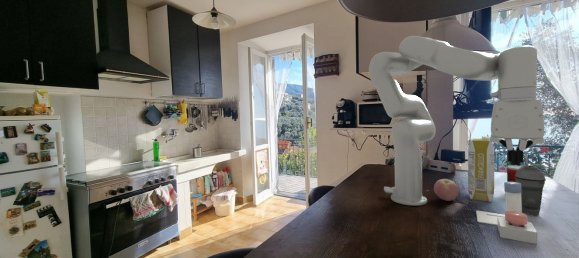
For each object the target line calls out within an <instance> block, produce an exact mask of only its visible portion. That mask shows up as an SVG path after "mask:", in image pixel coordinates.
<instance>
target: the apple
mask: <svg viewBox="0 0 579 258" xmlns="http://www.w3.org/2000/svg"><path fill="white" fill-rule="evenodd" d="M433 186H434V187H433V191H434V193H435V195H436V196H437V197H438V198H439V199H441V200H443V201H447V202H450V201H454V200H455V199H456V198H457V197H458V196H459V195H458V194H459V187H458V185H457V184H456V182H455V181H453V180H451V179H450V178H449V179H448V178H442V179H439V180H436V182H435V183H434V185H433Z"/></svg>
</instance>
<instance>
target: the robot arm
mask: <svg viewBox="0 0 579 258" xmlns="http://www.w3.org/2000/svg"><path fill="white" fill-rule="evenodd" d="M369 62H370V63H369V66H368V75H369V78H370V81H371V83H372V84H373V86H374V88H375V90H376V92H377V94H378V96H379V97H378V98H379V99H380V101H381V104H382V105H383V108H384V110H385V112H386V114H387V116H388V117H390V118H391V119H399V120H396V121H395V122H394V124H393V125H392V127H391V130H390V131H391V138H392V143H393V144H392V145H393V150H394V152H393V153H394V186H392V187H390V186H384V187H383V191H384V192H385V193H386V194H391V195H390V199H391V200H392V202H394V203H397V204H401V205H404V206H405V205H406V206H423V205H426V204H427V203H428V199H427V197H426V196H423V156H422V155H423V154H422V151H421V148H420V145H419V143H424V142H428V141H431V140H433V139H434V137H435V136H436V132H437V131H436V130H437V129H436V128H437V127H436V125H435V124H436V123H435V122H434V121H433V118H432V116H431V114H430V112H429V111H428V108H427V106H426V104H425V103H424V101H423V100H422V99H421V98H420V97H418V96H417V95H414V94H406V93H404V92H403V91H402V88H401V87H400V84H399V83H398V81H397V80H396V79H395V77H393V76H392V75H404V74H408V73H410V72H411V71H414V70H415V69H417V68H419V67H421V66H422V65H424V66H428V67H430V68H433V69H434V70H437V71H440V72H441V73H443V74H446V75H448V74H449V75H451V76H453V77H457V78H460V79H464V80H471V81H482V82H483V81H488V82H489V81H494V80H497V91H494V92H491V93H490V98H495V99H497V101H494V102H493V105H492V106H493V107H492V111H491V112H492V113H491V121H490V122H491V123H490V133H491V134H490V136H489V137H490V141H491V142H492V143H495V144H500V145H502V146H503V147H504V148H505V149H506V150H507V152H506V153H507V159H506V160H507V162H509V164H510V166H521V163H524V152H525V151H526V150H527V149H528V148H529V147H531V146H532V145H539V144H544V143H545V139H544V136H545V117H544V109H543V105H542V104H543V103H542V100H541V99H537V75H538V74H537V73H538V50H537V48H536V47H535V46H533V45H518V46H514V47H509V48H505V49H503V50H502V51H500V52H499V53H495V54H494V53H488V52H481V51H476V50H475V51H474V50H470V49H465V48H461V47H455V46H453V45H450V43H448V42H447V41H443V40H438V39H434V38H431V37H427V36H426V37H425V36H420V35H409V36H406V37H404V39H402V41H400V44H399V46H398V52H394V51H381V52H378V53H376V54H375V55H373V57H371V60H370V61H369ZM513 140H518V143H517V147H515V148H514V145H513Z"/></svg>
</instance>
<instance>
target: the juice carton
mask: <svg viewBox="0 0 579 258" xmlns="http://www.w3.org/2000/svg"><path fill="white" fill-rule="evenodd" d="M493 143H494V142H491V141H490V136H483V135H482V136H481V138H470V140H469V144H468V148H467V189H468V195H469V198H470V200H475V201H481V202H482V201H483V202H488V203H489V202H490V203H491V202H492V201H493V198H494V195H495V148H494V144H493Z"/></svg>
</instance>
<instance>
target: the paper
mask: <svg viewBox="0 0 579 258" xmlns="http://www.w3.org/2000/svg"><path fill="white" fill-rule="evenodd" d="M475 211H476V212H475V213H476V219H477V220H476V221H477V223H480V224H487V225H492V226H497V217H501V218H505V214H504V213H495V212H488V211H481V210H475Z"/></svg>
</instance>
